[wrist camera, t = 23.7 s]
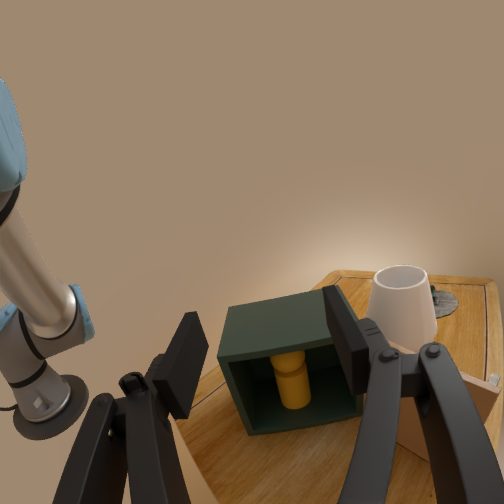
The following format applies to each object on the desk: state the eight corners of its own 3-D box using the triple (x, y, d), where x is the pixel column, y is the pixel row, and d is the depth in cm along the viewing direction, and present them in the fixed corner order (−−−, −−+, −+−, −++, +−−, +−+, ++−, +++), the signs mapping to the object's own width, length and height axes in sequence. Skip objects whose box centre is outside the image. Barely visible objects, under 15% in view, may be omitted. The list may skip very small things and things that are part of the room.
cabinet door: (390, 394, 33) (396, 309, 29) (476, 440, 19) (517, 351, 15) (362, 419, 31) (363, 334, 27) (451, 475, 16) (498, 394, 13)
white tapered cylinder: (405, 318, 49) (405, 253, 46) (449, 349, 36) (458, 274, 33) (349, 343, 48) (343, 275, 44) (388, 385, 35) (391, 307, 31)
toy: (284, 413, 35) (270, 356, 32) (278, 392, 39) (263, 337, 36) (315, 404, 35) (307, 346, 32) (307, 384, 39) (297, 328, 36)
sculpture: (400, 297, 58) (420, 268, 55) (425, 313, 58) (444, 287, 55) (417, 321, 46) (441, 287, 44) (444, 338, 46) (467, 307, 44)
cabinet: (363, 415, 31) (364, 328, 27) (248, 435, 33) (216, 356, 29) (345, 364, 43) (338, 284, 39) (251, 381, 44) (228, 306, 40)
